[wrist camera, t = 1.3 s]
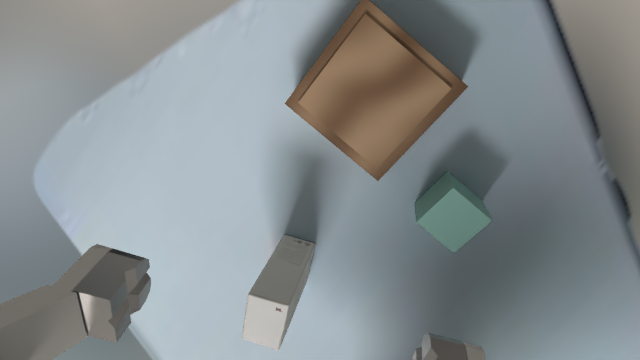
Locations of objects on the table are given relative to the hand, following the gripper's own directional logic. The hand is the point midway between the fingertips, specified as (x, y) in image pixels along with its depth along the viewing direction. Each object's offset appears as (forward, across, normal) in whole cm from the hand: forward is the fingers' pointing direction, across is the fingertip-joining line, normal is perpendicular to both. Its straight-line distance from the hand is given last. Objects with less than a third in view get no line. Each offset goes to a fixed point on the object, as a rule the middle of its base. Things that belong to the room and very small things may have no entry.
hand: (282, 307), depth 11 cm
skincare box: (+28, -2, -26) cm, 38 cm away
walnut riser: (+32, +2, -4) cm, 32 cm away
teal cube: (+29, +13, -13) cm, 35 cm away
